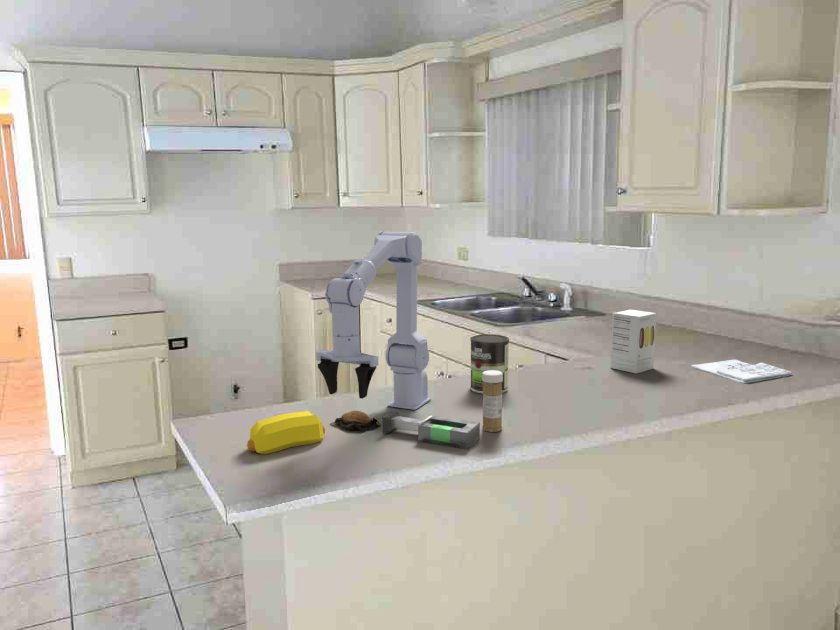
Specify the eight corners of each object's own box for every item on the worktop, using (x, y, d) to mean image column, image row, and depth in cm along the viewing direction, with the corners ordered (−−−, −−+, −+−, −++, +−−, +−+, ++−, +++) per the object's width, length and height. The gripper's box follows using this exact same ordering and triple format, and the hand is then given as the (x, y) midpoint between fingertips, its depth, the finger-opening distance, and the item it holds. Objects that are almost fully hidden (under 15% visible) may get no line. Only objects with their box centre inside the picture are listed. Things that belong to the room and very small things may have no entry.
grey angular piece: (395, 424, 169) (394, 409, 168) (435, 431, 164) (435, 415, 164) (382, 433, 163) (382, 417, 163) (423, 439, 159) (423, 423, 158)
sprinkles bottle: (490, 424, 169) (490, 368, 166) (506, 429, 166) (506, 371, 163) (478, 429, 166) (478, 372, 163) (494, 434, 163) (494, 376, 160)
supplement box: (636, 374, 210) (639, 316, 207) (609, 368, 217) (611, 312, 214) (654, 368, 216) (657, 312, 213) (627, 362, 223) (629, 308, 220)
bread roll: (327, 427, 171) (326, 412, 170) (353, 418, 177) (353, 403, 176) (358, 437, 163) (357, 421, 163) (384, 427, 170) (384, 412, 169)
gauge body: (432, 430, 165) (432, 415, 165) (479, 438, 160) (479, 422, 160) (418, 441, 159) (418, 425, 158) (467, 449, 154) (467, 432, 153)
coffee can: (493, 396, 190) (493, 344, 188) (462, 389, 197) (462, 338, 195) (516, 388, 198) (516, 337, 195) (486, 381, 205) (486, 332, 202)
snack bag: (743, 385, 199) (744, 378, 199) (688, 369, 217) (689, 361, 217) (793, 377, 207) (793, 370, 206) (736, 361, 225) (736, 354, 225)
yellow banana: (332, 442, 160) (317, 432, 166) (331, 412, 159) (316, 404, 165) (254, 460, 150) (241, 449, 156) (252, 429, 149) (239, 419, 155)
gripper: (307, 335, 156) (309, 396, 158) (366, 340, 150) (367, 404, 152) (325, 328, 162) (327, 387, 165) (382, 334, 156) (384, 395, 158)
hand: (348, 395), depth 159 cm, fingers open, 7 cm apart
